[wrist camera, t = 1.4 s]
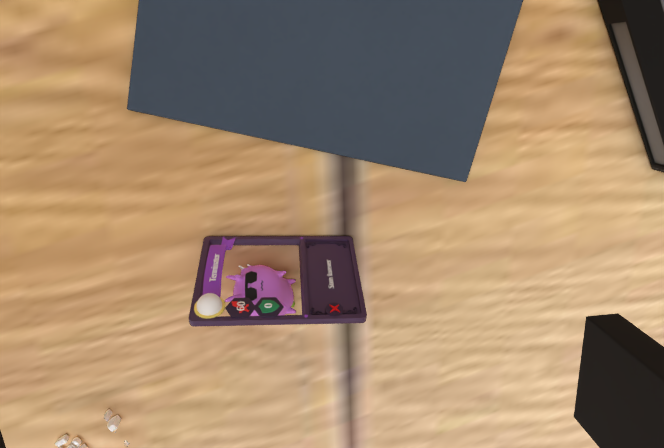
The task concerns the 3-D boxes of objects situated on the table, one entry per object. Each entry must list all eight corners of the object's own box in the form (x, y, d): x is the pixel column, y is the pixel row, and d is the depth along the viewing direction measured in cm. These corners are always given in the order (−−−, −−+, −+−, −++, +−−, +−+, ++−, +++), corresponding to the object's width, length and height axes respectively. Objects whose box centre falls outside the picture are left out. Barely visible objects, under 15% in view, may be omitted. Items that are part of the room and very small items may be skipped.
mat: (128, 108, 27) (126, 109, 27) (164, -212, 23) (162, -216, 23) (464, 180, 31) (466, 182, 30) (547, -89, 26) (551, -91, 26)
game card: (368, 307, 25) (186, 311, 24) (358, 371, 28) (196, 376, 27) (353, 226, 30) (203, 226, 29) (346, 287, 33) (210, 289, 32)
